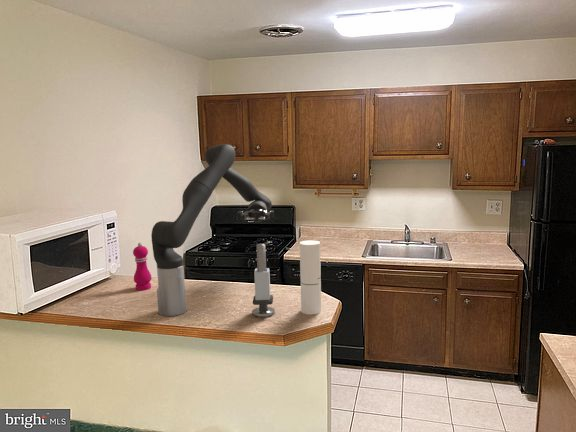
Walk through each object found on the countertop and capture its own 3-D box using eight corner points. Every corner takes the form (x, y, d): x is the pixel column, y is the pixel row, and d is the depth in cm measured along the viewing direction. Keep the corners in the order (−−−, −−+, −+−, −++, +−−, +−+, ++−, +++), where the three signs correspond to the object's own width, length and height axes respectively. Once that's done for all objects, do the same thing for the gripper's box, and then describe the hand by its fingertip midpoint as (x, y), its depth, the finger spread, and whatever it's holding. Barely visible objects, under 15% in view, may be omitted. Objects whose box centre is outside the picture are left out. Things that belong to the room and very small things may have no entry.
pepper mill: (148, 284, 197) (144, 239, 194) (155, 288, 192) (151, 242, 189) (132, 288, 193) (128, 242, 190) (138, 292, 187) (134, 245, 184)
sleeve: (255, 300, 156) (254, 272, 155) (256, 295, 161) (255, 268, 160) (269, 299, 156) (268, 272, 155) (270, 295, 161) (269, 268, 160)
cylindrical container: (324, 309, 162) (323, 241, 158) (314, 316, 156) (313, 245, 152) (308, 306, 166) (306, 239, 162) (297, 312, 160) (295, 243, 156)
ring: (252, 305, 156) (252, 301, 155) (253, 298, 163) (253, 294, 162) (272, 305, 156) (272, 300, 155) (273, 298, 163) (273, 294, 162)
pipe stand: (251, 317, 156) (248, 247, 152) (253, 309, 164) (250, 242, 160) (274, 317, 156) (272, 246, 152) (275, 308, 164) (272, 241, 160)
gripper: (240, 202, 186) (235, 208, 170) (274, 202, 186) (273, 207, 170) (240, 220, 187) (236, 227, 171) (275, 219, 187) (273, 226, 171)
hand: (254, 217), depth 171 cm, fingers open, 8 cm apart
